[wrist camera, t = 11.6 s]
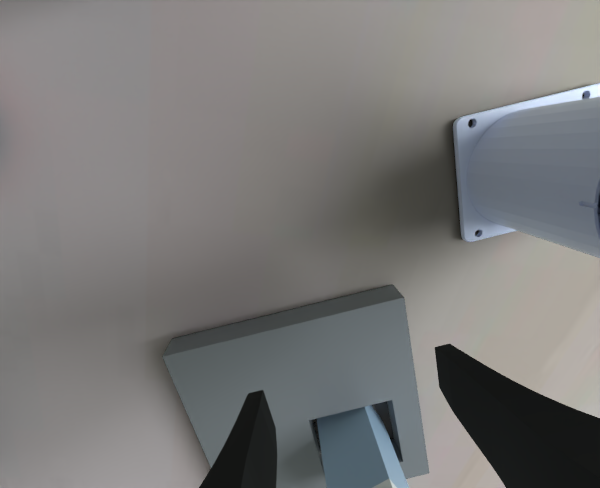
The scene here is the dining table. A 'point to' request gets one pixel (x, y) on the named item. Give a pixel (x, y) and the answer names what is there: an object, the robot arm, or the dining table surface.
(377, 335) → the grey socket board
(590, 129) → the robot arm
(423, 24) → the dining table surface
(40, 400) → the dining table surface
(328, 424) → the plug block
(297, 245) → the dining table surface
